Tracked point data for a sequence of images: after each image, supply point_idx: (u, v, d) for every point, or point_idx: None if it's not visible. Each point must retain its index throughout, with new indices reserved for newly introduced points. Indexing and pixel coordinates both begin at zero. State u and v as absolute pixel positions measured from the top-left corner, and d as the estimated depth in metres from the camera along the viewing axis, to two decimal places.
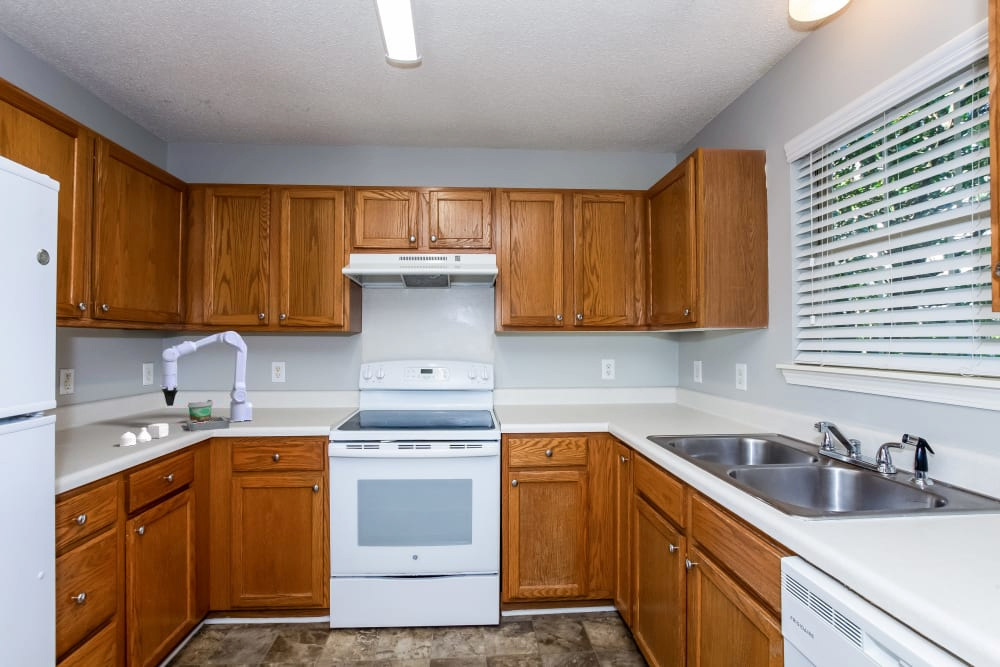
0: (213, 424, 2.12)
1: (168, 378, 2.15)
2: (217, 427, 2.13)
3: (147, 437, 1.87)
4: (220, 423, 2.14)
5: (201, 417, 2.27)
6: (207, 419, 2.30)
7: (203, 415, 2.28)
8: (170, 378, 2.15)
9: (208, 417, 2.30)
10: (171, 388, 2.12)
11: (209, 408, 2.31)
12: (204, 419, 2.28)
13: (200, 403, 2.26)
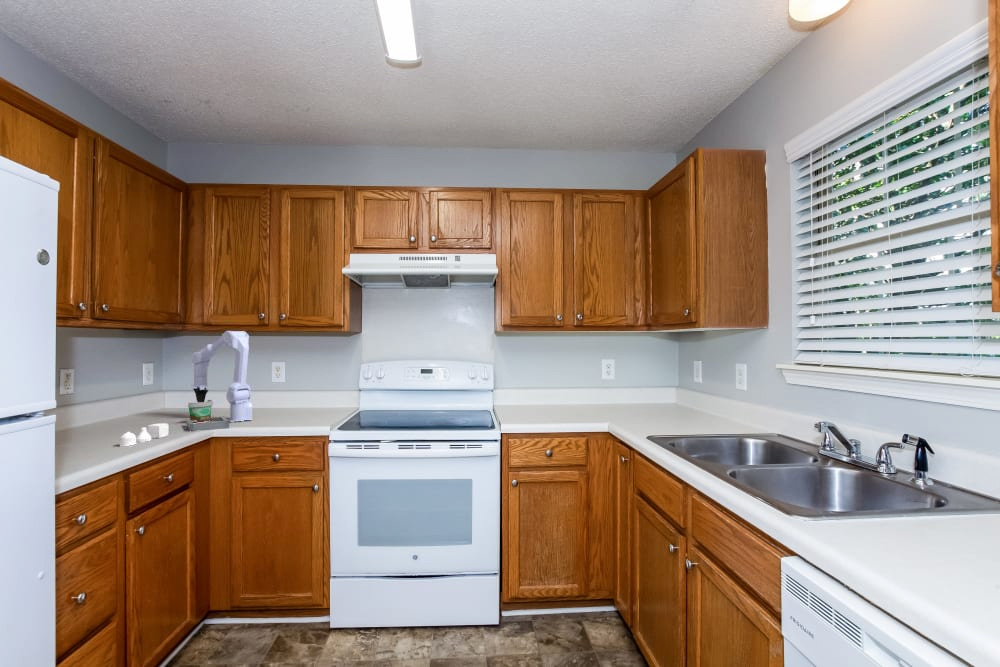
0: (213, 424, 2.12)
1: (199, 379, 2.39)
2: (217, 427, 2.13)
3: (147, 437, 1.87)
4: (220, 423, 2.14)
5: (201, 417, 2.27)
6: (207, 419, 2.30)
7: (203, 415, 2.28)
8: (201, 379, 2.40)
9: (208, 417, 2.30)
10: (202, 388, 2.36)
11: (209, 408, 2.31)
12: (204, 419, 2.28)
13: (200, 403, 2.26)
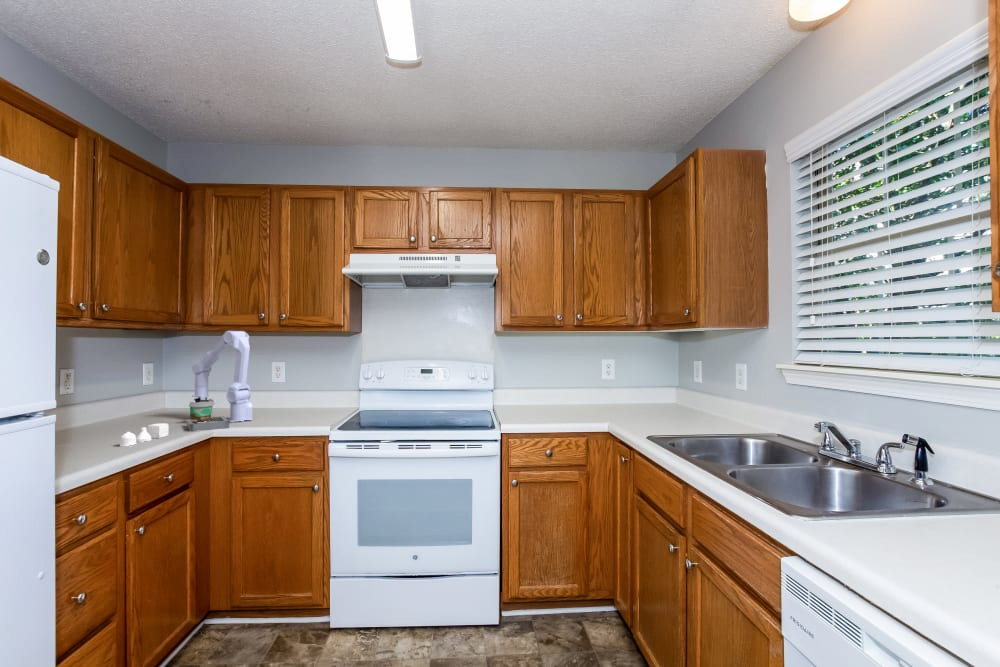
0: (213, 424, 2.12)
1: (200, 389, 2.36)
2: (217, 427, 2.13)
3: (147, 437, 1.87)
4: (220, 423, 2.14)
5: (202, 417, 2.27)
6: (207, 419, 2.30)
7: (203, 415, 2.28)
8: (202, 389, 2.37)
9: (208, 417, 2.30)
10: (203, 398, 2.33)
11: (210, 408, 2.30)
12: (204, 419, 2.28)
13: (201, 403, 2.26)
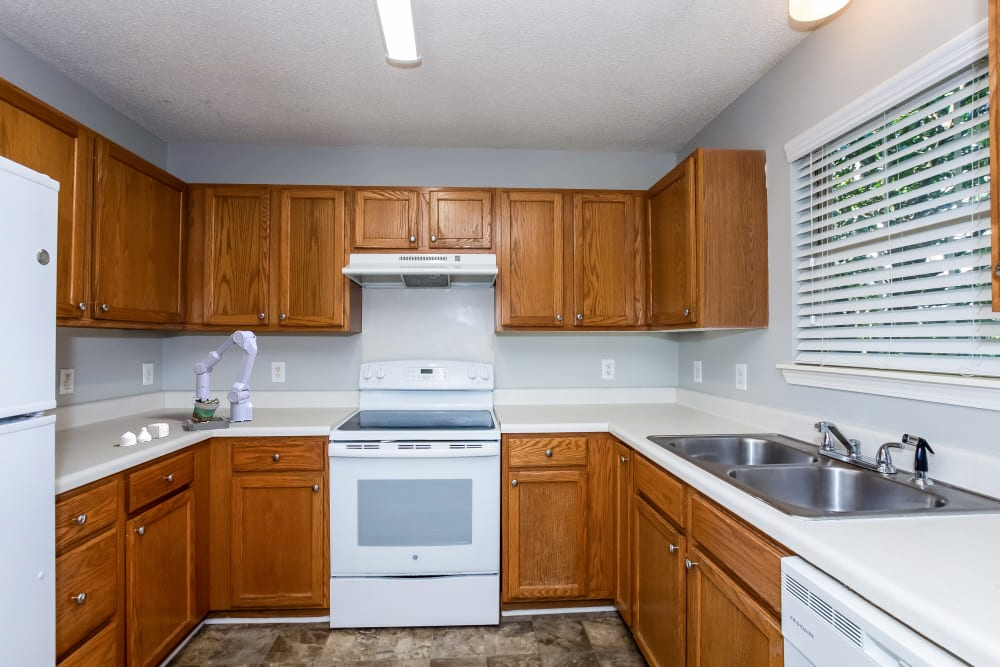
0: (213, 424, 2.12)
1: (201, 390, 2.31)
2: (217, 427, 2.13)
3: (147, 437, 1.87)
4: (220, 423, 2.14)
5: (203, 417, 2.26)
6: (208, 420, 2.29)
7: (205, 416, 2.26)
8: (203, 390, 2.32)
9: (210, 418, 2.29)
10: (204, 399, 2.28)
11: (214, 410, 2.29)
12: (205, 420, 2.27)
13: (206, 405, 2.24)
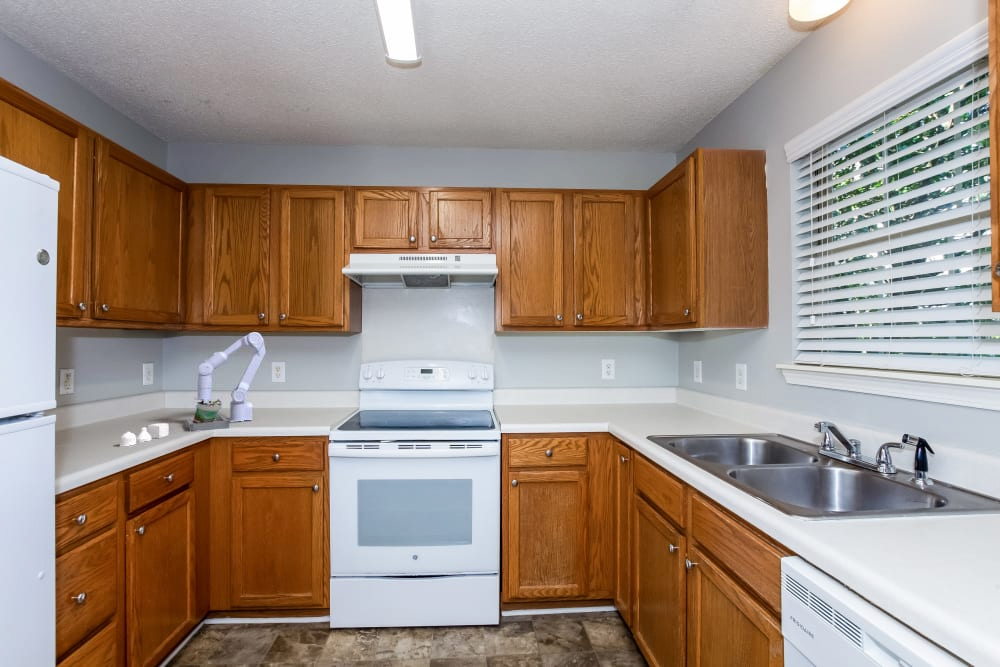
0: (213, 424, 2.12)
1: (203, 392, 2.24)
2: (217, 427, 2.13)
3: (147, 437, 1.87)
4: (220, 423, 2.14)
5: (206, 419, 2.21)
6: None
7: (207, 418, 2.21)
8: (205, 391, 2.24)
9: (212, 420, 2.24)
10: (206, 401, 2.21)
11: (216, 412, 2.24)
12: (207, 422, 2.22)
13: (209, 407, 2.19)
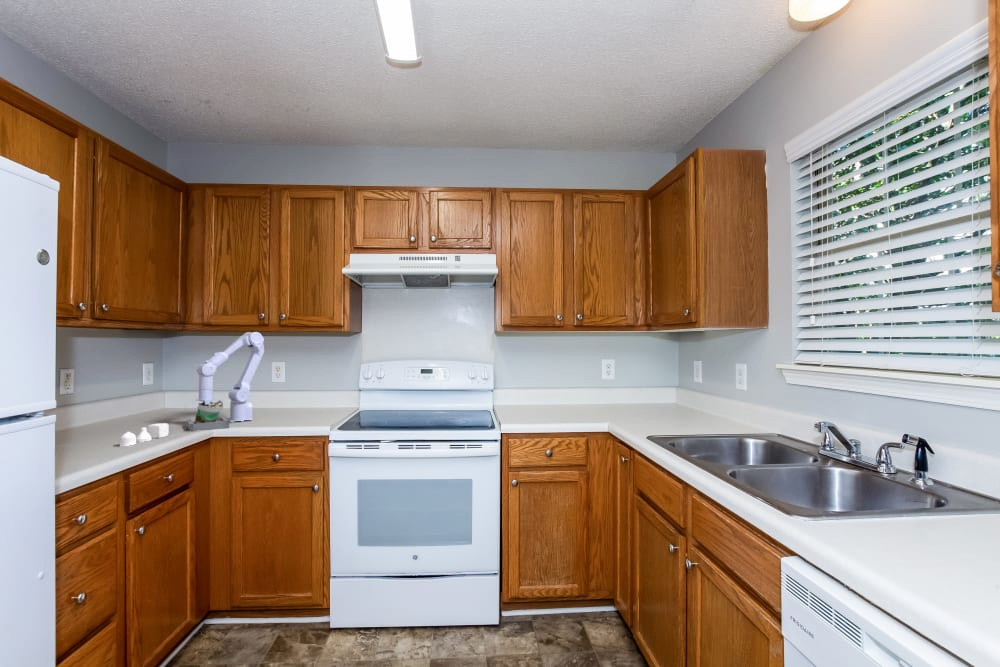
0: (213, 424, 2.12)
1: (205, 393, 2.20)
2: (217, 427, 2.13)
3: (147, 437, 1.87)
4: (220, 423, 2.14)
5: (207, 421, 2.17)
6: None
7: (209, 419, 2.18)
8: (207, 392, 2.21)
9: (213, 421, 2.20)
10: (208, 402, 2.17)
11: (217, 413, 2.20)
12: None
13: (210, 408, 2.15)
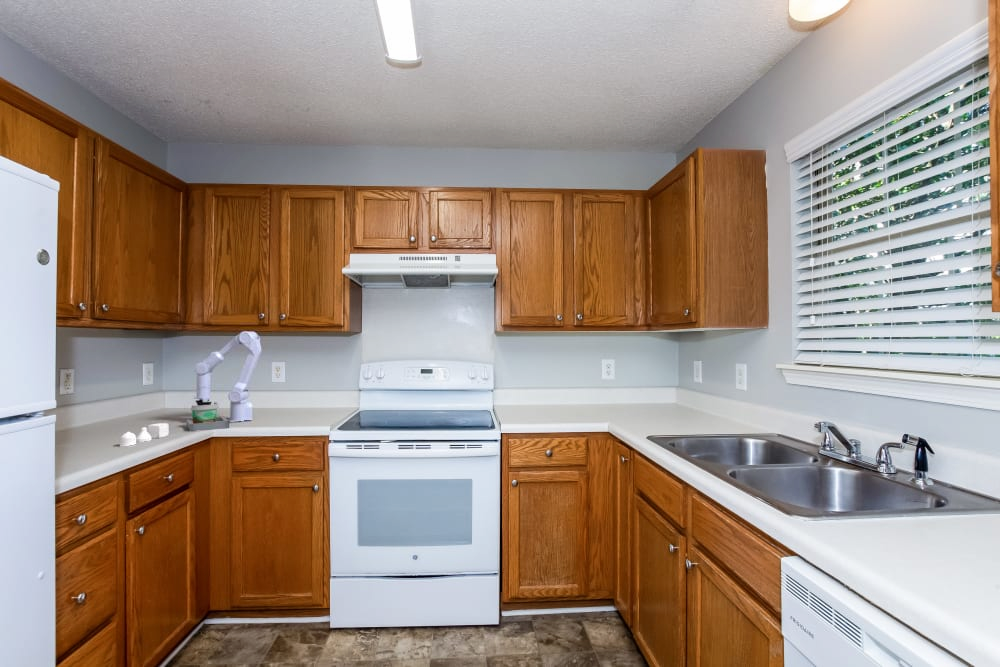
0: (213, 424, 2.12)
1: (202, 391, 2.29)
2: (217, 427, 2.13)
3: (147, 437, 1.87)
4: (220, 423, 2.14)
5: (205, 420, 2.17)
6: None
7: (206, 418, 2.18)
8: (204, 390, 2.29)
9: (212, 421, 2.20)
10: (206, 400, 2.26)
11: (213, 411, 2.21)
12: None
13: (203, 406, 2.17)
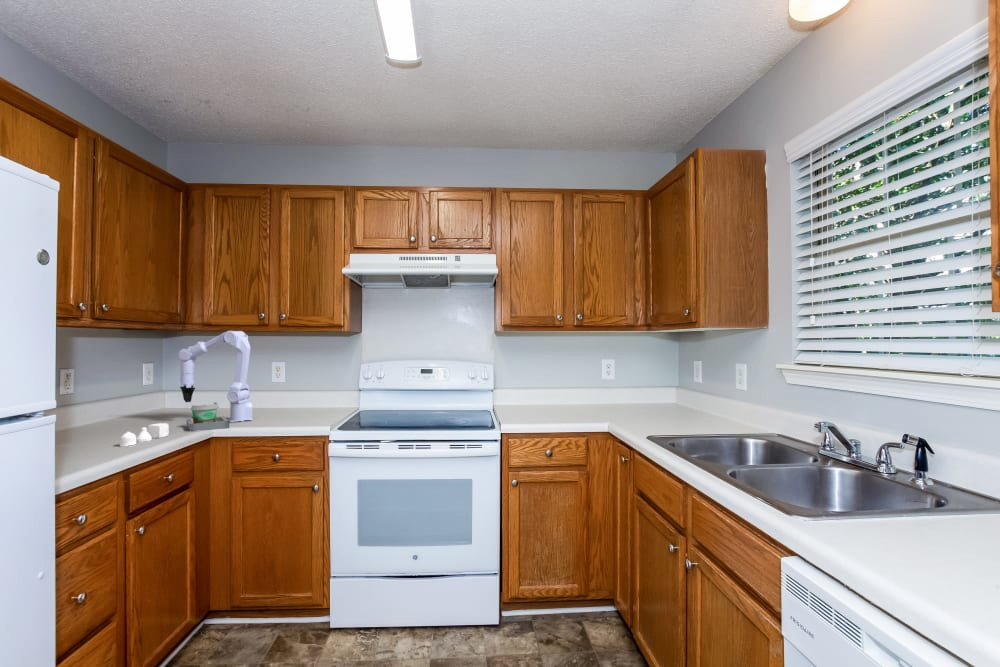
0: (213, 424, 2.12)
1: (186, 377, 2.32)
2: (217, 427, 2.13)
3: (147, 437, 1.87)
4: (220, 423, 2.14)
5: (205, 420, 2.17)
6: None
7: (206, 418, 2.18)
8: (188, 376, 2.32)
9: (212, 421, 2.20)
10: (189, 386, 2.29)
11: (213, 411, 2.21)
12: None
13: (203, 406, 2.17)
